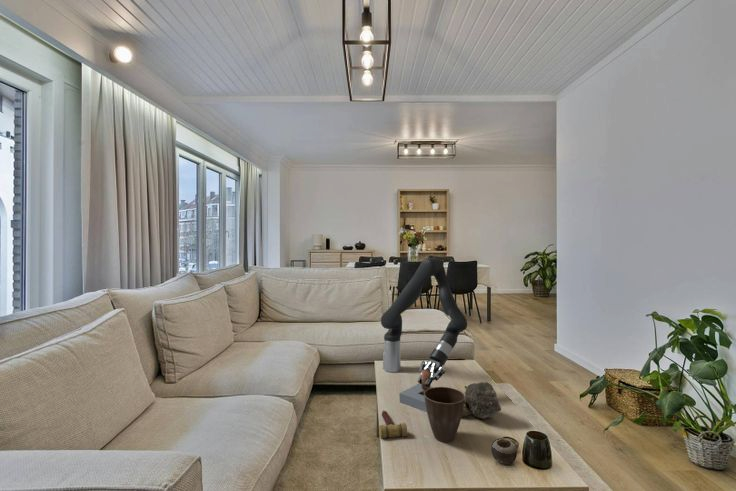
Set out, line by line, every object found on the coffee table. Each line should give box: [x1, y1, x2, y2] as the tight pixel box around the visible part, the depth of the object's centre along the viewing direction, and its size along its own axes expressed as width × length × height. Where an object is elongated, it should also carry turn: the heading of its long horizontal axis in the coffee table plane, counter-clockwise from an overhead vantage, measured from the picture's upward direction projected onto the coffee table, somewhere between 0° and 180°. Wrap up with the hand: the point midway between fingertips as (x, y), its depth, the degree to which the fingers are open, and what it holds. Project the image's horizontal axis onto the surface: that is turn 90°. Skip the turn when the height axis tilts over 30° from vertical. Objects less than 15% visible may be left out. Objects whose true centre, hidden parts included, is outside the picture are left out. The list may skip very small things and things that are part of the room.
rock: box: [461, 381, 502, 420], centre depth 152 cm, size 18×14×15 cm
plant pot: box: [424, 386, 465, 443], centre depth 137 cm, size 15×15×16 cm
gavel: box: [378, 410, 408, 439], centre depth 146 cm, size 21×5×10 cm
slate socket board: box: [399, 382, 433, 413], centre depth 166 cm, size 18×16×4 cm
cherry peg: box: [420, 369, 431, 394], centre depth 166 cm, size 4×4×10 cm
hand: (422, 384), depth 165 cm, fingers closed on cherry peg, 4 cm apart
